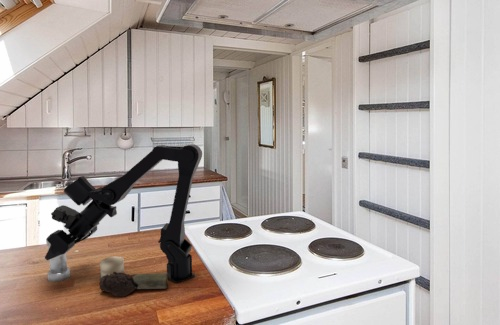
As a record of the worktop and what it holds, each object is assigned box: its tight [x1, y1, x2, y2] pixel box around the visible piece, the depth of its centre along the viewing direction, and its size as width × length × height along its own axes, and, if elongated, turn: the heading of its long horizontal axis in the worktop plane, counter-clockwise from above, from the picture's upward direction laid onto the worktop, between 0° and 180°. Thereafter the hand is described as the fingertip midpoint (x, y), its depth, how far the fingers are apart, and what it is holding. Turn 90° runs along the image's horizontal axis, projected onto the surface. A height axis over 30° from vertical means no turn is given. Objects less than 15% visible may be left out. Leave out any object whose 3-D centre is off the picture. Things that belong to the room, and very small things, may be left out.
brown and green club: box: [99, 272, 169, 297], centre depth 92 cm, size 18×7×6 cm, turn 98°
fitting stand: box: [99, 256, 126, 279], centre depth 101 cm, size 7×7×5 cm
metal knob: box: [45, 238, 71, 283], centre depth 101 cm, size 6×6×12 cm
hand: (55, 252), depth 101 cm, fingers open, 9 cm apart
